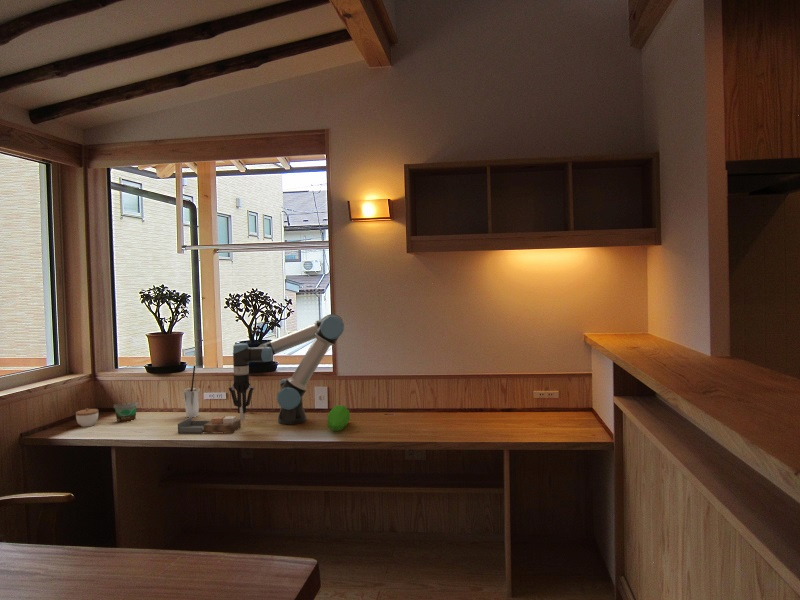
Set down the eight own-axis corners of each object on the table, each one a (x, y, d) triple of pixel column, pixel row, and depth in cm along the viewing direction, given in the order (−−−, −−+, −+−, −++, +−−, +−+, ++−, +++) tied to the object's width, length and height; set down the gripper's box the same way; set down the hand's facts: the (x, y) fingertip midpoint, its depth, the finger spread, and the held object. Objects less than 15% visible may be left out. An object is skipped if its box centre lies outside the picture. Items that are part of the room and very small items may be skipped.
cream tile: (236, 421, 278) (236, 416, 278) (232, 423, 273) (232, 418, 273) (227, 420, 279) (226, 416, 279) (223, 423, 274) (222, 418, 274)
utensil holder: (196, 419, 298) (194, 365, 297) (178, 418, 301) (176, 365, 299) (207, 414, 309) (205, 362, 308) (189, 413, 311) (187, 362, 310)
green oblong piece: (346, 399, 288) (339, 410, 258) (355, 418, 288) (348, 432, 258) (327, 407, 288) (317, 420, 258) (335, 426, 288) (327, 442, 258)
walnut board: (240, 427, 281) (240, 419, 281) (232, 433, 270) (232, 425, 270) (213, 426, 283) (212, 419, 282) (203, 432, 272) (203, 425, 271)
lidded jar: (86, 428, 283) (85, 411, 283) (71, 427, 287) (70, 409, 286) (103, 423, 294) (103, 406, 293) (88, 422, 297) (88, 405, 297)
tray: (213, 426, 284) (212, 416, 283) (201, 433, 271) (201, 423, 270) (190, 426, 285) (190, 416, 285) (178, 433, 272) (177, 423, 271)
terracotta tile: (225, 420, 279) (225, 416, 279) (221, 423, 274) (221, 418, 274) (215, 420, 279) (215, 416, 279) (211, 423, 274) (211, 418, 274)
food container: (116, 424, 291) (115, 405, 291) (113, 421, 296) (113, 404, 296) (140, 420, 299) (140, 402, 299) (138, 417, 304) (137, 400, 304)
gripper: (225, 375, 271) (227, 421, 272) (251, 375, 270) (252, 421, 271) (231, 372, 279) (232, 417, 280) (256, 372, 277) (257, 417, 278)
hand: (242, 419), depth 275 cm, fingers closed
